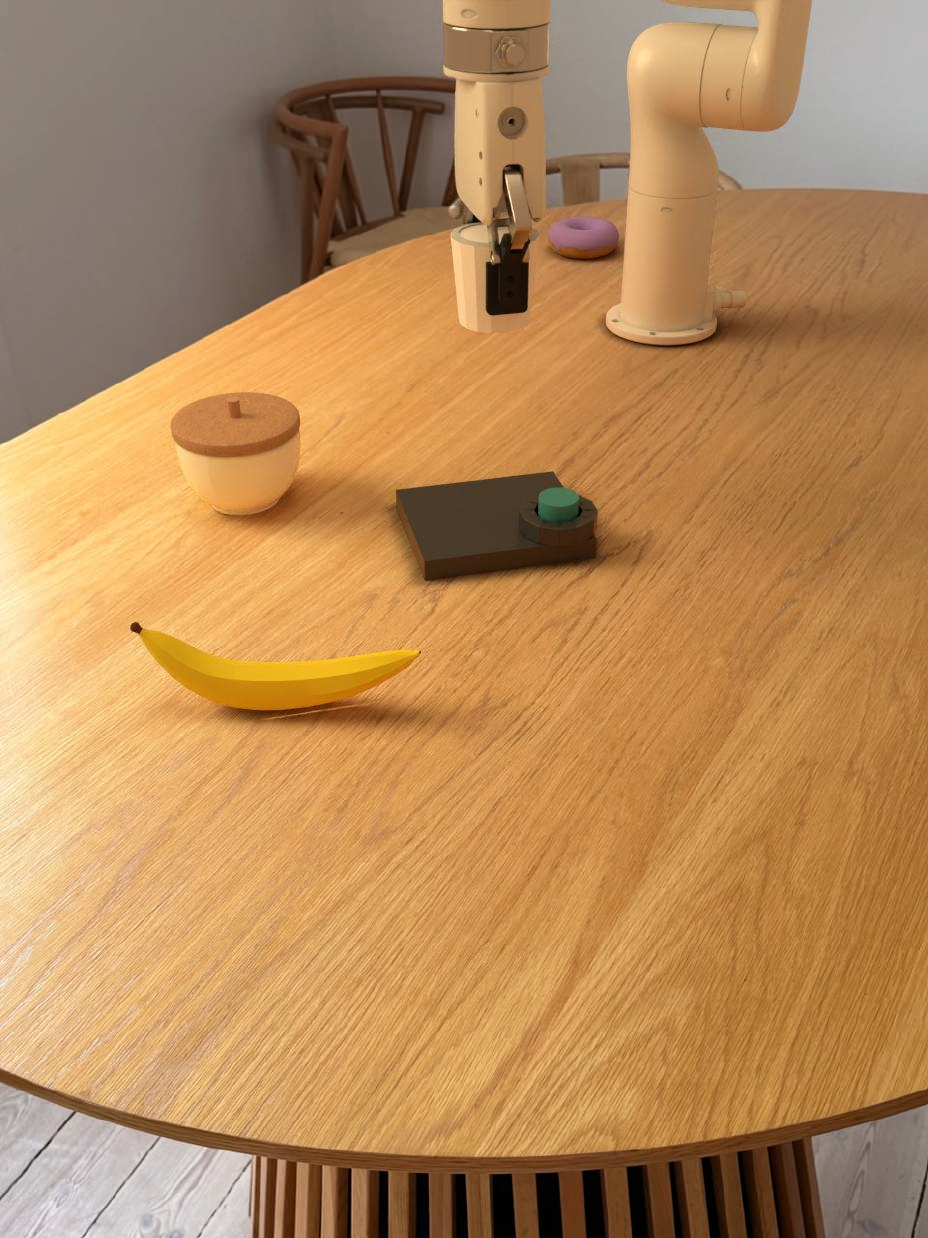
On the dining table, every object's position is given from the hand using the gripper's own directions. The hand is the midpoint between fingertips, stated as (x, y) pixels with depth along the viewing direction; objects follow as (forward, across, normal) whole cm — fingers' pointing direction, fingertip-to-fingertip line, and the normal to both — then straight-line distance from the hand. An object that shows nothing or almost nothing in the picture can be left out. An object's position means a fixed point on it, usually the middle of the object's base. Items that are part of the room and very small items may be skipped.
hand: (494, 294), depth 96 cm
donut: (+18, +64, -29) cm, 73 cm away
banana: (+18, -25, +21) cm, 37 cm away
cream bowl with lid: (+18, +5, +21) cm, 28 cm away
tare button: (+15, -10, -3) cm, 18 cm away
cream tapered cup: (+2, 0, 0) cm, 2 cm away
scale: (+18, -6, +2) cm, 19 cm away
